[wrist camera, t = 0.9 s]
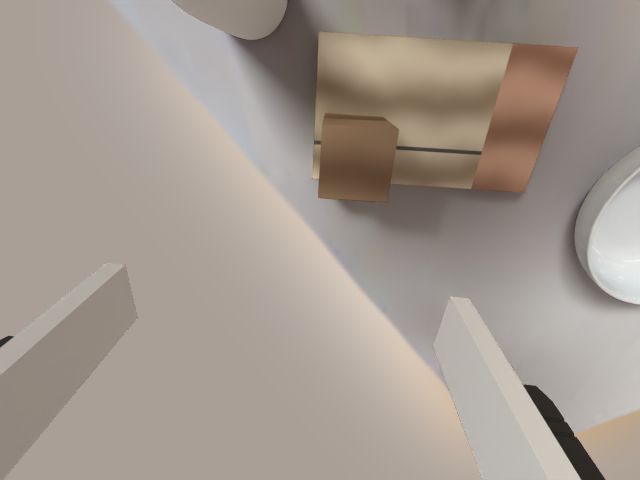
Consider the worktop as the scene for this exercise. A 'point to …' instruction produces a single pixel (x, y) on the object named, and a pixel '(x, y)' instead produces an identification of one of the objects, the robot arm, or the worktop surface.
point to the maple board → (446, 103)
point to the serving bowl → (613, 230)
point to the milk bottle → (238, 15)
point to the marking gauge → (356, 157)
